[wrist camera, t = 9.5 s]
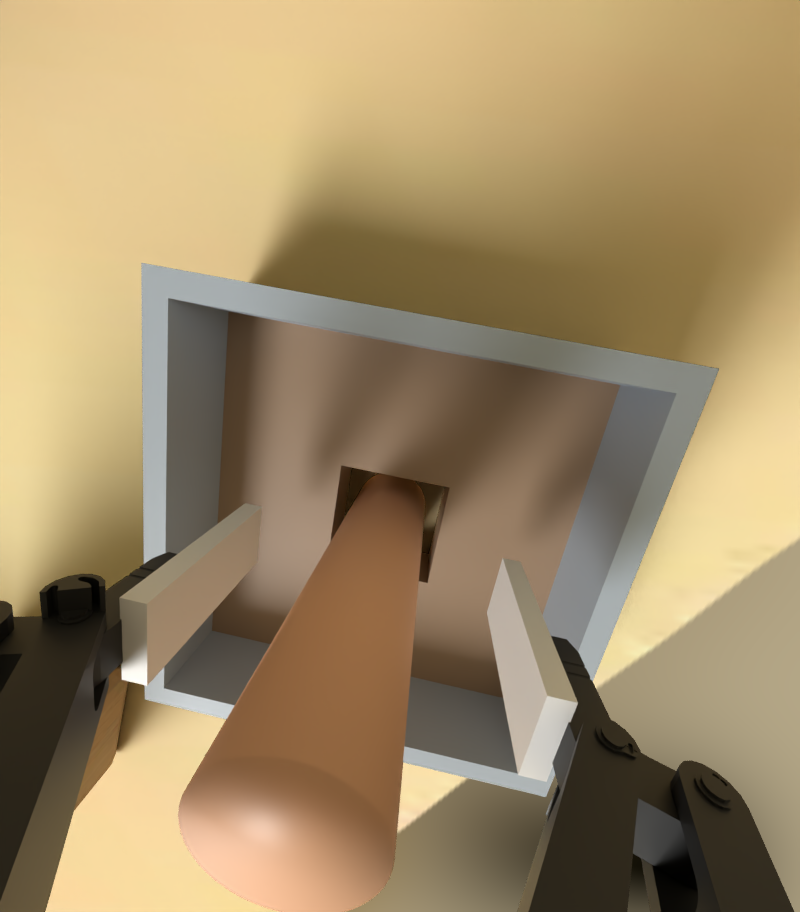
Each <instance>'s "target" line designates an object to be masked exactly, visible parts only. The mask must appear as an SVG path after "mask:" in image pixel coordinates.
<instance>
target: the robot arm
mask: <svg viewBox="0 0 800 912" xmlns="http://www.w3.org/2000/svg"><path fill="white" fill-rule="evenodd" d="M261 513H262V507H261V506H256V505H251V504H247V503H245V504H243V505H242V506H241V507H239V508H238V509H237V510H235V511H234V512H233V513H231V514H230V515H229V516H227V517H226V518H225V519H223V520H222V521H221V522H219V523H218V524H217V525H215V526H214V527H213V528H211V529H210V530H209V531H207V532H206V533H205V534H204V535H202V536H201V537H200V538H198V539H197V540H196V541H194V542H193V543H192V544H190V545H189V546H188V547H186V548H185V549H184V550H182V551H181V552H180V553H178V554H176V553H171V552H167V553H164V554H162V555H159V556H157V557H154V558H152V559H150V560H149V561H148V562H146V563H145V564H143V565H142V566H140V568H139V569H136V570H135V571H133V572H132V573H130V575H129V576H126V577H125V578H123V579H122V580H120V581H119V582H118V583H116V584H115V585H113V586H112V587H110V588H109V589H108V590H106V591H105V580H104V579H103V578H102V577H100V576H97V575H93V574H79V575H73V576H68V577H65V578H62V579H59V580H56V581H54V582H52V583H51V584H49V585H47V586H45V587H44V588H43V589H42V590H41V591H40V602H41V612H42V616H41V617H13V611H12V605H10V604H9V603H7V602H5V601H0V912H45V911H46V907H47V904H48V900H49V897H50V893H51V889H52V886H53V882H54V879H55V875H56V872H57V868H58V865H59V861H60V858H61V854H62V851H63V847H64V844H65V840H66V836H67V833H68V829H69V826H70V822H71V819H72V815H73V812H74V808H75V805H76V801H77V798H78V794H79V791H80V787H81V783H82V780H83V776H84V773H85V769H86V766H87V762H88V759H89V755H90V752H91V748H92V745H93V741H94V737H95V734H96V730H97V727H98V723H99V720H100V716H101V713H102V709H103V706H104V702H105V699H106V695H107V692H108V688H109V675H110V674H111V673H112V672H113V671H114V670H115V669H116V668H117V667H118V666H119V665H120V664H121V670H122V680H125V681H129V682H134V683H138V684H142V685H146V686H148V684H149V683H150V682H151V681H152V680H153V679H154V678H155V677H156V675H157V674H158V673H159V672H160V671H161V670H162V669H163V668H164V666H165V665H166V664H167V663H168V662H169V661H170V660H171V659H172V657H173V656H174V655H175V654H176V653H177V652H178V651H179V650H180V648H181V647H182V646H183V645H184V644H185V643H186V642H187V641H188V639H189V638H190V637H191V636H192V635H193V634H194V633H195V631H196V630H197V629H198V628H199V627H200V626H201V625H202V624H203V622H204V621H205V620H206V619H207V618H208V617H209V616H210V615H211V613H212V612H213V611H214V610H215V609H216V608H217V607H218V606H219V604H220V603H221V602H222V601H223V600H224V599H225V598H226V597H227V595H228V594H229V593H230V592H231V591H232V590H233V589H234V588H235V586H236V585H237V584H238V583H239V582H240V581H241V580H242V579H243V577H244V576H245V575H246V574H247V573H248V572H249V571H250V570H251V568H252V567H253V566H254V565H255V564H256V563H257V559H258V548H259V536H260V525H261ZM487 616H488V621H489V626H490V631H491V637H492V642H493V647H494V652H495V657H496V663H497V668H498V673H499V678H500V683H501V689H502V694H503V699H504V704H505V709H506V715H507V720H508V725H509V730H510V735H511V741H512V746H513V751H514V756H515V761H516V767H517V772H518V775H519V776H524V777H528V778H532V779H536V780H540V781H544V782H547V780H548V777H549V775H550V772H551V770H552V767H553V768H554V771H555V775H556V778H557V782H558V786H557V788H556V791H555V793H554V795H553V798H552V800H551V803H550V805H549V807H548V810H547V813H546V815H547V818H546V821H545V824H544V828H543V831H542V834H541V837H540V841H539V844H538V847H537V850H536V853H535V856H534V860H533V863H532V866H531V869H530V872H529V876H528V879H527V882H526V885H525V888H524V892H523V895H522V898H521V901H520V904H519V908H518V911H517V912H627V908H628V897H629V888H630V877H631V866H632V857H633V854H635V855H637V856H638V857H640V858H641V860H642V866H643V871H644V877H645V883H646V889H647V895H648V901H649V907H650V912H794V910H793V908H792V906H791V903H790V901H789V899H788V896H787V894H786V892H785V890H784V887H783V885H782V883H781V881H780V878H779V876H778V874H777V872H776V869H775V867H774V865H773V863H772V860H771V858H770V856H769V854H768V851H767V849H766V847H765V844H764V842H763V840H762V838H761V835H760V833H759V831H758V828H757V826H756V824H755V822H754V819H753V817H752V815H751V813H750V810H749V808H748V807H747V805H746V803H745V802H744V800H743V799H742V797H741V795H740V794H739V793H738V792H737V791H736V790H735V789H734V787H733V786H732V785H731V784H730V783H729V782H728V781H727V780H725V779H724V778H723V777H722V776H720V775H719V774H718V773H717V772H715V771H714V770H712V769H710V768H708V767H706V766H705V765H703V764H701V763H698V762H694V761H683V762H682V763H681V764H680V766H679V767H678V769H677V771H675V770H673V769H671V768H669V767H667V766H665V765H663V764H661V763H659V762H657V761H655V760H653V759H651V758H649V757H647V756H646V755H644V754H642V753H641V752H640V749H639V748H638V746H637V744H636V742H635V740H634V739H633V738H632V737H631V736H630V735H629V733H628V732H627V731H626V730H625V729H623V728H622V727H621V726H620V725H618V724H617V723H616V722H614V721H612V720H611V719H610V718H609V715H608V713H607V711H606V709H605V707H604V705H603V703H602V700H601V698H600V696H599V694H598V692H597V690H596V688H595V686H594V684H593V682H592V680H590V675H589V673H588V671H587V669H586V668H585V665H584V663H583V661H582V659H581V657H580V654H579V652H578V651H577V650H576V649H575V648H574V647H573V646H572V644H571V643H570V642H569V641H568V640H567V639H564V638H559V637H555V636H551V635H550V633H549V630H548V628H547V625H546V623H545V620H544V618H543V615H542V613H541V611H540V608H539V606H538V603H537V601H536V598H535V596H534V593H533V591H532V588H531V586H530V584H529V581H528V579H527V576H526V574H525V571H524V569H523V566H522V564H521V562H519V561H514V560H510V559H505V558H503V559H502V562H501V565H500V569H499V572H498V576H497V579H496V583H495V586H494V590H493V593H492V597H491V600H490V603H489V607H488V610H487Z"/></svg>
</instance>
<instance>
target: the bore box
mask: <svg viewBox="0 0 800 912" xmlns="http://www.w3.org/2000/svg"><path fill="white" fill-rule="evenodd" d="M718 371H719V369H718V368H712V367H707V366H701V365H696V364H690V363H685V362H680V361H674V360H669V359H663V358H658V357H652V356H647V355H641V354H636V353H630V352H625V351H619V350H614V349H609V348H603V347H598V346H592V345H587V344H581V343H576V342H570V341H565V340H559V339H554V338H549V337H543V336H538V335H532V334H527V333H521V332H516V331H510V330H505V329H499V328H494V327H488V326H483V325H478V324H472V323H467V322H461V321H456V320H450V319H445V318H439V317H434V316H428V315H423V314H418V313H412V312H407V311H401V310H396V309H390V308H385V307H379V306H374V305H368V304H363V303H357V302H352V301H347V300H341V299H336V298H330V297H325V296H319V295H314V294H308V293H303V292H297V291H292V290H286V289H281V288H276V287H270V286H265V285H259V284H254V283H248V282H243V281H237V280H232V279H226V278H221V277H216V276H210V275H205V274H199V273H194V272H188V271H183V270H177V269H172V268H166V267H161V266H155V265H150V264H145V263H142V393H143V529H144V564H145V563H146V562H148V561H149V560H150V559H152V558H154V557H157V556H159V555H162V554H164V553H167V552H171V553H176V554H178V553H180V552H181V551H182V550H184V549H185V548H186V547H188V546H189V545H190V544H192V543H193V542H194V541H196V540H197V539H198V538H200V537H201V536H202V535H204V534H205V533H206V532H207V531H209V530H210V529H211V528H213V527H214V526H215V525H217V524H218V523H219V522H221V521H222V520H223V519H225V518H226V517H227V516H229V515H230V514H231V513H233V512H234V511H235V510H237V509H238V508H239V507H241V506H242V505H243V504H245V503H247V504H251V505H256V506H261V507H262V513H261V525H260V536H259V548H258V559H257V563H256V564H255V565H254V566H253V567H252V568H251V570H250V571H249V572H248V573H247V574H246V575H245V576H244V577H243V579H242V580H241V581H240V582H239V583H238V584H237V585H236V586H235V588H234V589H233V590H232V591H231V592H230V593H229V594H228V595H227V597H226V598H225V599H224V600H223V601H222V602H221V603H220V604H219V606H218V607H217V608H216V609H215V610H214V611H213V612H212V613H211V615H210V616H209V617H208V618H207V619H206V620H205V621H204V622H203V624H202V625H201V626H200V627H199V628H198V629H197V630H196V631H195V633H194V634H193V635H192V636H191V637H190V638H189V639H188V641H187V642H186V643H185V644H184V645H183V646H182V647H181V648H180V650H179V651H178V652H177V653H176V654H175V655H174V656H173V657H172V659H171V660H170V661H169V662H168V663H167V664H166V665H165V666H164V668H163V669H162V670H161V671H160V672H159V673H158V674H157V675H156V677H155V678H154V679H153V680H152V681H151V682H150V683H149V684H148V686H146V685H145V700H149V701H153V702H157V703H161V704H165V705H169V706H174V707H178V708H182V709H186V710H190V711H194V712H198V713H202V714H206V715H211V716H215V717H219V718H223V719H227V718H228V716H229V714H230V713H231V711H232V709H233V707H234V706H235V704H236V702H237V701H238V699H239V697H240V695H241V694H242V692H243V690H244V689H245V687H246V685H247V684H248V682H249V680H250V678H251V677H252V675H253V673H254V672H255V670H256V668H257V666H258V665H259V663H260V661H261V660H262V658H263V656H264V655H265V653H266V651H267V649H268V648H269V646H270V644H271V643H272V641H273V639H274V637H275V636H276V634H277V632H278V631H279V629H280V627H281V626H282V624H283V622H284V620H285V619H286V617H287V615H288V614H289V612H290V610H291V608H292V607H293V605H294V603H295V602H296V600H297V598H298V596H299V595H300V593H301V591H302V590H303V588H304V586H305V585H306V583H307V581H308V579H309V578H310V576H311V574H312V573H313V571H314V569H315V567H316V566H317V564H318V562H319V561H320V559H321V557H322V556H323V554H324V552H325V550H326V549H327V547H328V545H329V544H330V542H331V540H332V538H333V537H334V535H335V533H336V532H337V530H338V528H339V527H340V525H341V523H342V521H343V520H344V515H345V509H346V502H347V496H348V489H349V483H350V476H351V470H352V468H357V469H361V470H366V471H371V472H376V473H381V474H386V475H391V476H396V477H400V478H405V479H410V480H415V481H420V482H425V483H430V484H435V485H439V486H444V490H443V495H442V499H441V504H440V508H439V512H438V517H437V521H436V525H435V530H434V534H433V539H432V543H431V547H430V552H429V554H425V553H421V561H420V572H419V584H418V595H417V607H416V618H415V630H414V641H413V653H412V665H411V676H410V688H409V699H408V711H407V722H406V734H405V745H404V757H403V762H404V763H408V764H412V765H416V766H421V767H425V768H429V769H433V770H437V771H441V772H445V773H449V774H453V775H458V776H462V777H466V778H470V779H474V780H479V781H482V782H486V783H491V784H495V785H499V786H503V787H507V788H511V789H515V790H519V791H524V792H528V793H532V794H536V795H540V796H544V797H546V795H547V793H548V790H549V788H550V785H551V783H552V780H553V778H554V775H555V771H554V768H553V767H552V770H551V772H550V775H549V777H548V780H547V782H544V781H540V780H536V779H532V778H528V777H524V776H519V775H518V772H517V767H516V761H515V756H514V751H513V746H512V741H511V735H510V730H509V725H508V720H507V715H506V709H505V704H504V699H503V694H502V689H501V683H500V678H499V673H498V668H497V663H496V657H495V652H494V647H493V642H492V637H491V631H490V626H489V621H488V616H487V610H488V607H489V603H490V600H491V597H492V593H493V590H494V586H495V583H496V579H497V576H498V572H499V569H500V565H501V562H502V559H503V558H505V559H510V560H514V561H519V562H521V564H522V566H523V569H524V571H525V574H526V576H527V579H528V581H529V584H530V586H531V588H532V591H533V593H534V596H535V598H536V601H537V603H538V606H539V608H540V611H541V613H542V615H543V618H544V620H545V623H546V625H547V628H548V630H549V633H550V635H551V636H555V637H559V638H564V639H567V640H568V641H569V642H570V643H571V644H572V646H573V647H574V648H575V649H576V650H577V651H578V652H579V654H580V657H581V659H582V661H583V663H584V665H585V668H586V669H587V671H588V673H589V675H590V680H592V682H593V679H594V677H595V674H596V672H597V669H598V667H599V664H600V662H601V659H602V657H603V655H604V652H605V650H606V647H607V645H608V642H609V640H610V637H611V635H612V632H613V630H614V627H615V625H616V622H617V620H618V617H619V615H620V613H621V610H622V608H623V605H624V603H625V600H626V598H627V595H628V593H629V590H630V588H631V585H632V583H633V580H634V578H635V576H636V573H637V571H638V568H639V566H640V563H641V561H642V558H643V556H644V553H645V551H646V548H647V546H648V543H649V541H650V538H651V536H652V534H653V531H654V529H655V526H656V524H657V521H658V519H659V516H660V514H661V511H662V509H663V506H664V504H665V501H666V499H667V496H668V494H669V492H670V489H671V487H672V484H673V482H674V479H675V477H676V474H677V472H678V469H679V467H680V464H681V462H682V459H683V457H684V455H685V452H686V450H687V447H688V445H689V442H690V440H691V437H692V435H693V432H694V430H695V427H696V425H697V422H698V420H699V417H700V415H701V413H702V410H703V408H704V405H705V403H706V400H707V398H708V395H709V393H710V390H711V388H712V385H713V383H714V380H715V378H716V376H717V373H718Z"/></svg>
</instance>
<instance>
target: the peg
mask: <svg viewBox="0 0 800 912" xmlns="http://www.w3.org/2000/svg"><path fill="white" fill-rule="evenodd" d="M424 515H425V498H424V495H423V493H422V490H421V489H420V487H419V486H418V485H417V483H416V482H415V481H414V480H410V479H405V478H400V477H396V476H391V475H386V474H381V473H380V474H378V475H375V476H373V477H372V478H370V479H369V480H368V481H367V482H366V483H365V484H364V486H363V487H362V489H361V491H360V492H359V494H358V496H357V497H356V499H355V501H354V503H353V504H352V506H351V508H350V509H349V511H348V513H347V515H346V516H345V518H344V520H343V521H342V523H341V525H340V527H339V528H338V530H337V532H336V533H335V535H334V537H333V538H332V540H331V542H330V544H329V545H328V547H327V549H326V550H325V552H324V554H323V556H322V557H321V559H320V561H319V562H318V564H317V566H316V567H315V569H314V571H313V573H312V574H311V576H310V578H309V579H308V581H307V583H306V585H305V586H304V588H303V590H302V591H301V593H300V595H299V596H298V598H297V600H296V602H295V603H294V605H293V607H292V608H291V610H290V612H289V614H288V615H287V617H286V619H285V620H284V622H283V624H282V626H281V627H280V629H279V631H278V632H277V634H276V636H275V637H274V639H273V641H272V643H271V644H270V646H269V648H268V649H267V651H266V653H265V655H264V656H263V658H262V660H261V661H260V663H259V665H258V666H257V668H256V670H255V672H254V673H253V675H252V677H251V678H250V680H249V682H248V684H247V685H246V687H245V689H244V690H243V692H242V694H241V695H240V697H239V699H238V701H237V702H236V704H235V706H234V707H233V709H232V711H231V713H230V714H229V716H228V718H227V719H226V721H225V723H224V725H223V726H222V728H221V730H220V731H219V733H218V735H217V736H216V738H215V740H214V742H213V743H212V745H211V747H210V748H209V750H208V752H207V754H206V755H205V757H204V759H203V760H202V762H201V764H200V765H199V767H198V769H197V771H196V772H195V774H194V776H193V777H192V779H191V781H190V783H189V784H188V786H187V788H186V790H185V791H184V793H183V795H182V798H181V801H180V804H179V812H178V818H179V827H180V831H181V835H182V837H183V840H184V842H185V845H186V846H187V848H188V850H189V852H190V854H191V855H192V856H193V858H194V859H195V860H196V862H197V863H198V864H199V865H200V866H201V868H202V869H203V870H204V871H205V872H206V873H207V874H208V875H209V876H211V877H212V878H213V879H214V880H215V881H216V882H218V883H219V884H220V885H222V886H223V887H225V888H226V889H228V890H229V891H231V892H232V893H234V894H236V895H237V896H239V897H241V898H243V899H245V900H247V901H250V902H252V903H255V904H257V905H260V906H262V907H265V908H269V909H272V910H275V911H280V912H345V911H349V910H352V909H354V908H357V907H359V906H361V905H363V904H365V903H367V902H368V901H370V900H371V899H372V898H373V897H375V896H376V895H378V893H379V892H380V891H381V890H382V889H383V888H384V886H385V885H386V884H387V882H388V880H389V878H390V876H391V873H392V870H393V866H394V860H395V849H396V837H397V826H398V815H399V803H400V791H401V780H402V768H403V757H404V745H405V734H406V722H407V711H408V699H409V688H410V676H411V665H412V653H413V641H414V630H415V618H416V607H417V595H418V584H419V572H420V561H421V549H422V538H423V526H424Z"/></svg>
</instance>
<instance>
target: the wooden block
mask: <svg viewBox="0 0 800 912" xmlns="http://www.w3.org/2000/svg"><path fill="white" fill-rule="evenodd" d="M127 685H128V681H125V680H122V670H121V668H118V667H117V668H116V669H115V670H114V671H113V672H112V673H111V674H110V675H109V688H108V692H107V695H106V699H105V702H104V706H103V709H102V713H101V716H100V720H99V723H98V727H97V730H96V734H95V737H94V741H93V745H92V748H91V752H90V755H89V759H88V762H87V766H86V769H85V773H84V776H83V780H82V783H81V787H80V791H79V794H78V798H77V801H76V805H75V808H74V810H75V809H76V808H77V806H78V805H79V804H80V803H81V801H82V800H83V799H84V798H85V796H86V795H87V794H88V793H89V791H90V790H91V789H92V788H93V786H94V785H95V784H96V783H97V781H98V780H99V779H100V778H101V777H102V775H103V774H104V773H105V772H106V770H107V769H108V768H109V767H110V765H111V764H112V762H113V759H114V756H115V754H116V748H117V743H118V737H119V731H120V725H121V720H122V714H123V708H124V703H125V697H126V691H127Z"/></svg>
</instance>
